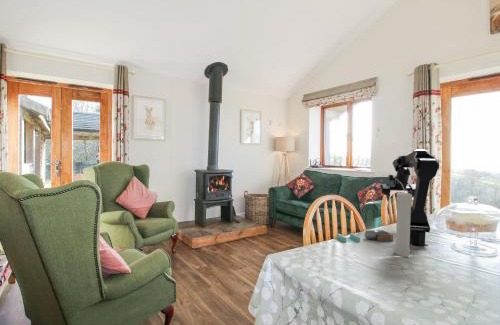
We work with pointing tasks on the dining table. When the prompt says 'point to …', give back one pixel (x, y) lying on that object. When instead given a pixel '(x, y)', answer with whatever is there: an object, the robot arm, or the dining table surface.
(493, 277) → the dining table surface
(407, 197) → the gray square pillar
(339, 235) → the cradle
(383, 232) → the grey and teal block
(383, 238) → the brown block
